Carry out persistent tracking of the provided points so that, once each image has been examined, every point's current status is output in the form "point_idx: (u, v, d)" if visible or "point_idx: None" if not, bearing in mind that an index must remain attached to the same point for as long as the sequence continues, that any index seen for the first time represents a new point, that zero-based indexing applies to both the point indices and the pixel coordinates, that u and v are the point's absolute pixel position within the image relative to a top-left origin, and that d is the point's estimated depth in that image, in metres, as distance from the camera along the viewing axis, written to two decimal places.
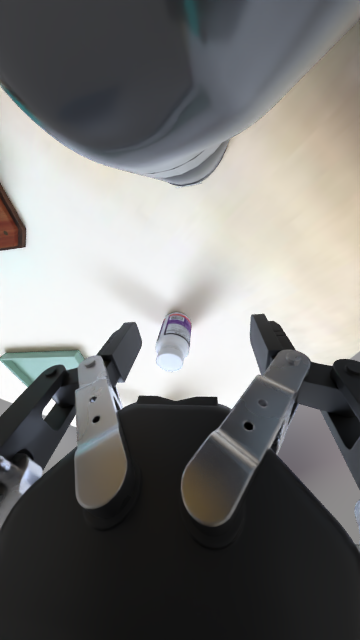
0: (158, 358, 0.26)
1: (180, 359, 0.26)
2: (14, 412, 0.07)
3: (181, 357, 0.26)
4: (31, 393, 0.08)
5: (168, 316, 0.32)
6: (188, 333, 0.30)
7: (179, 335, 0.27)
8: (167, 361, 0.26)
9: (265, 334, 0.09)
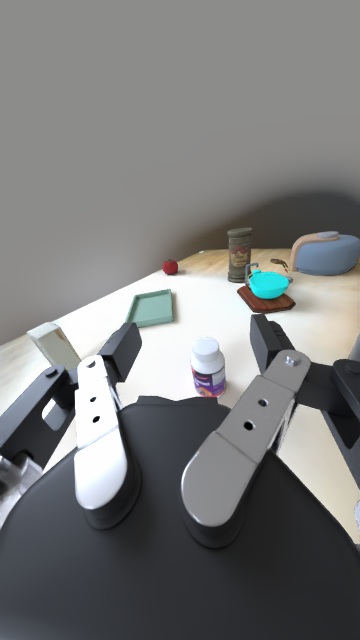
0: (210, 338, 0.28)
1: (212, 352, 0.26)
2: (14, 412, 0.07)
3: (212, 354, 0.26)
4: (31, 393, 0.08)
5: None
6: (217, 381, 0.28)
7: (223, 365, 0.28)
8: (207, 344, 0.27)
9: (265, 334, 0.09)
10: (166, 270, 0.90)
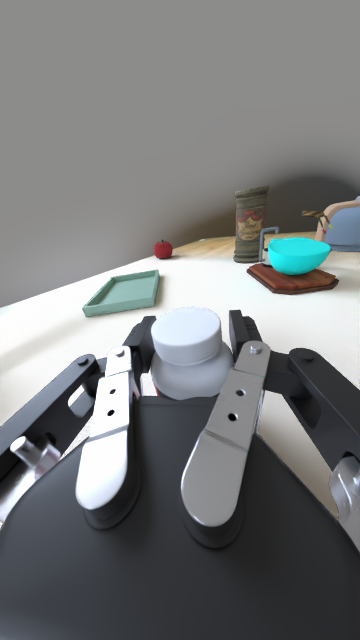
0: (199, 309, 0.11)
1: (200, 340, 0.09)
2: (45, 395, 0.08)
3: (202, 347, 0.09)
4: (62, 379, 0.09)
5: None
6: None
7: None
8: (190, 320, 0.10)
9: (237, 327, 0.10)
10: (158, 253, 0.74)
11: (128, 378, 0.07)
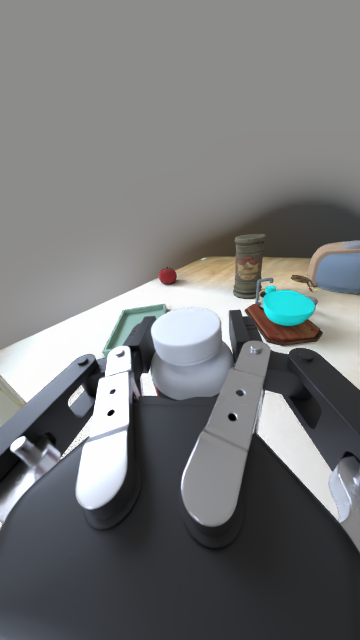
0: (199, 309, 0.11)
1: (200, 340, 0.09)
2: (45, 395, 0.08)
3: (202, 347, 0.09)
4: (61, 379, 0.09)
5: None
6: None
7: None
8: (190, 320, 0.10)
9: (237, 327, 0.10)
10: (163, 279, 0.80)
11: (128, 378, 0.07)
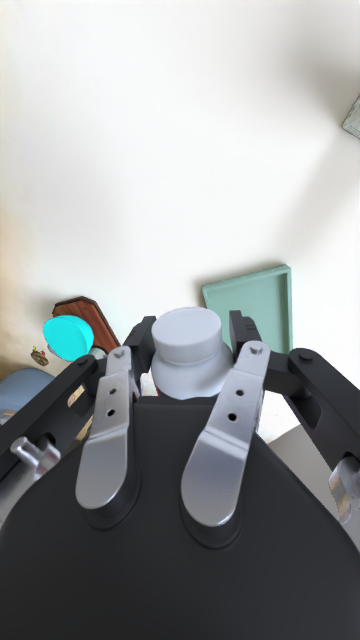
0: (199, 308, 0.11)
1: (200, 339, 0.09)
2: (45, 395, 0.08)
3: (202, 346, 0.09)
4: (62, 379, 0.09)
5: None
6: None
7: None
8: (190, 319, 0.10)
9: (237, 327, 0.10)
10: None
11: (128, 378, 0.07)
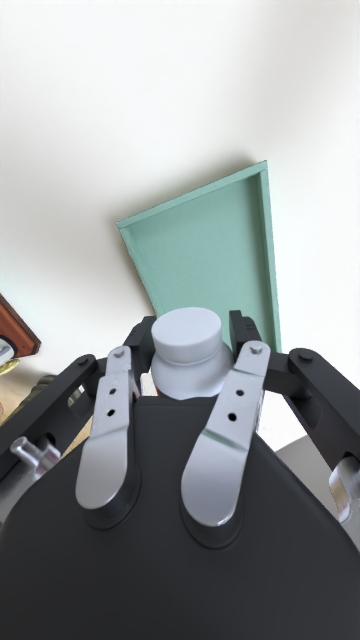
0: (199, 308, 0.11)
1: (200, 339, 0.09)
2: (45, 395, 0.08)
3: (202, 346, 0.09)
4: (62, 379, 0.09)
5: None
6: None
7: None
8: (190, 320, 0.10)
9: (237, 327, 0.10)
10: None
11: (128, 378, 0.07)
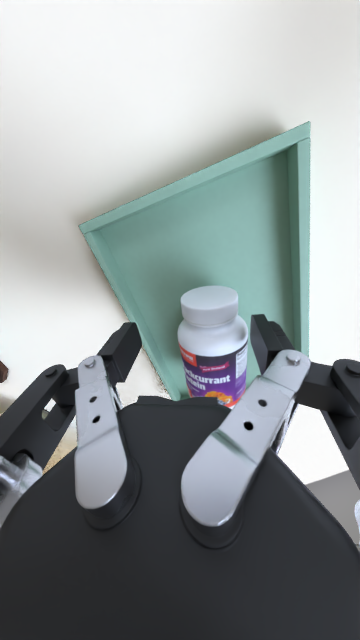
0: (209, 286, 0.14)
1: (231, 301, 0.11)
2: (14, 412, 0.07)
3: (233, 306, 0.11)
4: (30, 393, 0.08)
5: None
6: (242, 368, 0.14)
7: None
8: (210, 293, 0.13)
9: (265, 334, 0.09)
10: None
11: (107, 384, 0.07)
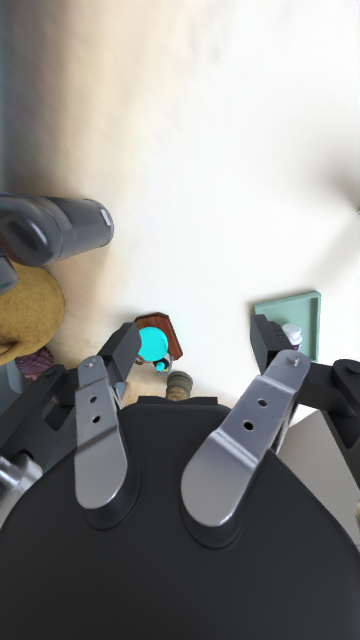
0: (288, 324, 0.46)
1: (299, 330, 0.44)
2: (14, 412, 0.07)
3: None
4: (31, 393, 0.08)
5: None
6: (299, 348, 0.46)
7: None
8: (291, 327, 0.45)
9: (265, 334, 0.09)
10: None
11: (107, 384, 0.07)
